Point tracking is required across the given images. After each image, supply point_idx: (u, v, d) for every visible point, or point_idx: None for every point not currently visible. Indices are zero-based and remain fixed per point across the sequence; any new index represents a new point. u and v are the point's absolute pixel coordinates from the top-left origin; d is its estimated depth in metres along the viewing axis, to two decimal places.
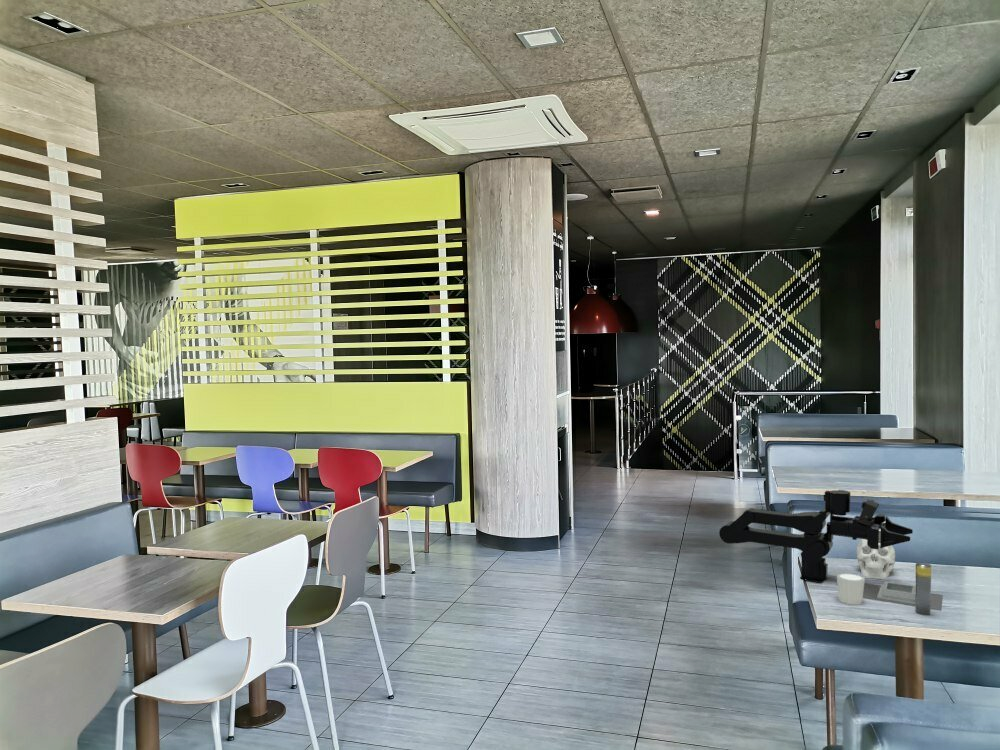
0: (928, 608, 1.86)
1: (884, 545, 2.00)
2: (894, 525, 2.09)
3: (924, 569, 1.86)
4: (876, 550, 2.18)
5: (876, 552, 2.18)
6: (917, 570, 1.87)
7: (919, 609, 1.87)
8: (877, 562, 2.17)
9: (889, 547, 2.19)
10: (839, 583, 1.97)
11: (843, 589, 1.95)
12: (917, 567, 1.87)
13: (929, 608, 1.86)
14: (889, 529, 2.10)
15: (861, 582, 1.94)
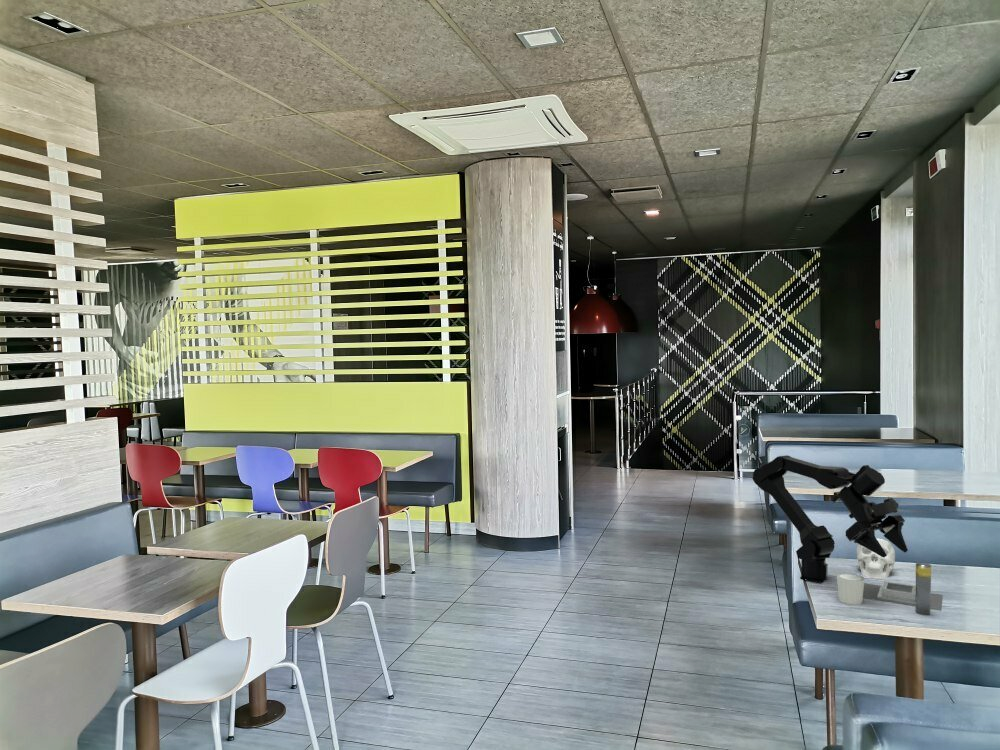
0: (928, 608, 1.86)
1: (859, 542, 1.96)
2: (898, 535, 1.99)
3: (924, 569, 1.86)
4: None
5: None
6: (917, 570, 1.87)
7: (919, 609, 1.87)
8: (877, 562, 2.17)
9: (889, 547, 2.19)
10: (839, 583, 1.97)
11: (843, 589, 1.95)
12: (917, 567, 1.87)
13: (929, 608, 1.86)
14: (891, 533, 2.00)
15: (861, 582, 1.94)
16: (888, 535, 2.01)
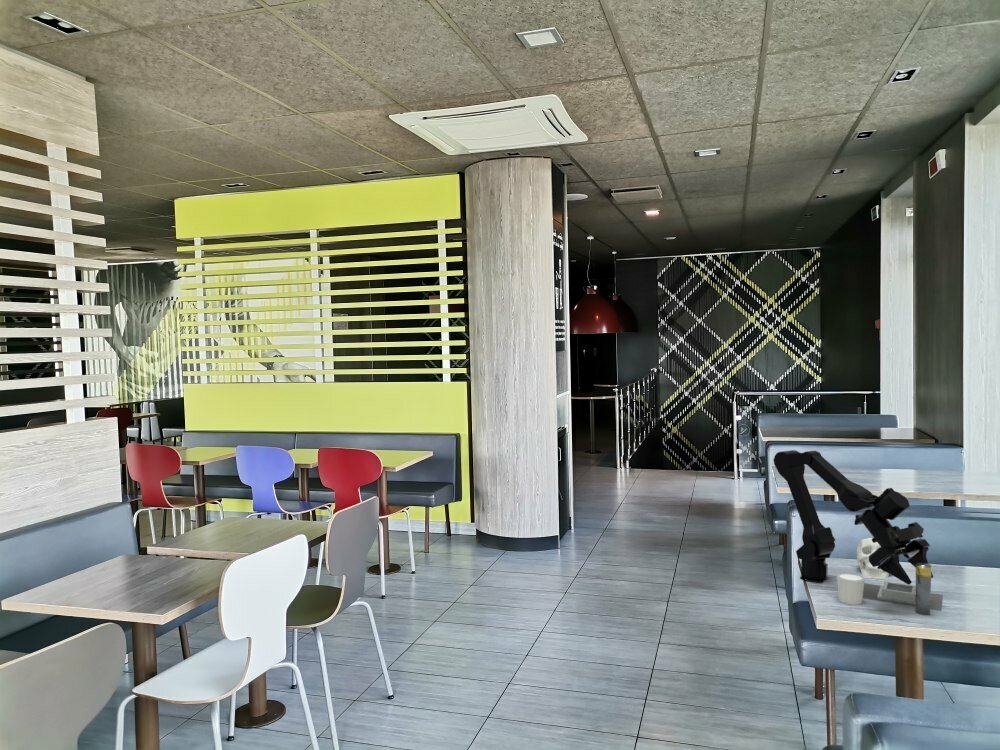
0: (928, 608, 1.86)
1: (883, 568, 1.90)
2: (923, 560, 1.92)
3: (924, 569, 1.86)
4: None
5: None
6: (917, 570, 1.87)
7: (919, 609, 1.87)
8: None
9: None
10: (839, 583, 1.97)
11: (843, 589, 1.95)
12: (917, 567, 1.87)
13: (929, 608, 1.86)
14: (916, 559, 1.94)
15: (861, 582, 1.94)
16: (912, 560, 1.95)
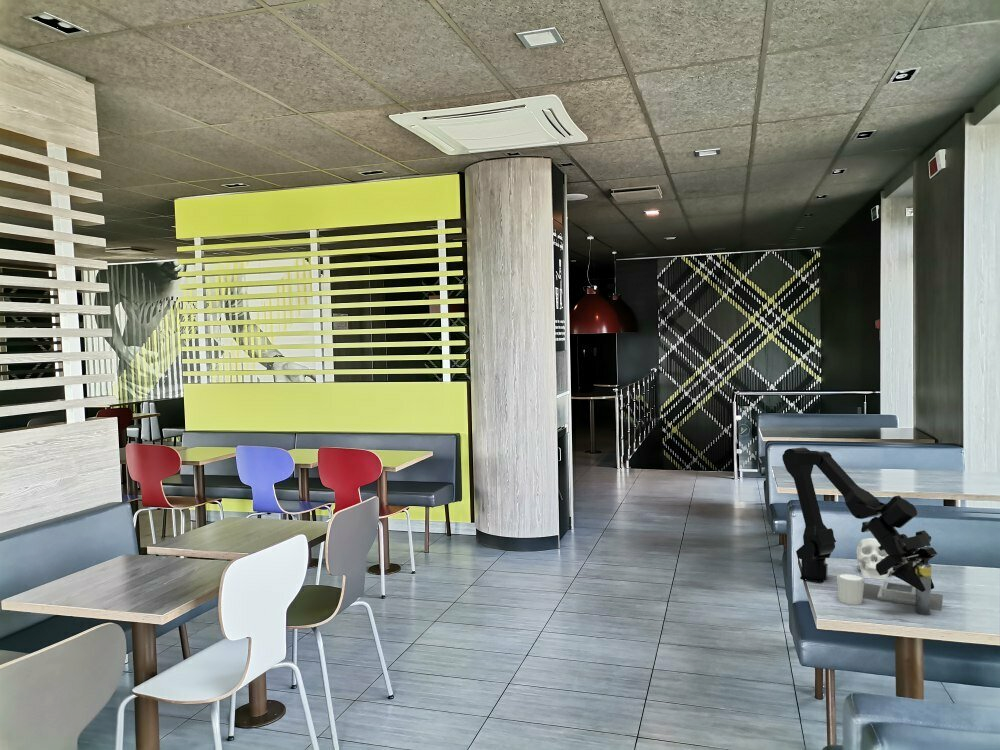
0: (928, 608, 1.86)
1: (897, 575, 1.90)
2: None
3: (924, 568, 1.86)
4: (876, 550, 2.18)
5: (876, 552, 2.18)
6: (917, 570, 1.87)
7: (919, 609, 1.87)
8: (877, 562, 2.16)
9: None
10: (839, 583, 1.97)
11: (843, 589, 1.95)
12: (917, 567, 1.87)
13: (929, 608, 1.86)
14: None
15: (861, 582, 1.94)
16: (913, 570, 1.92)
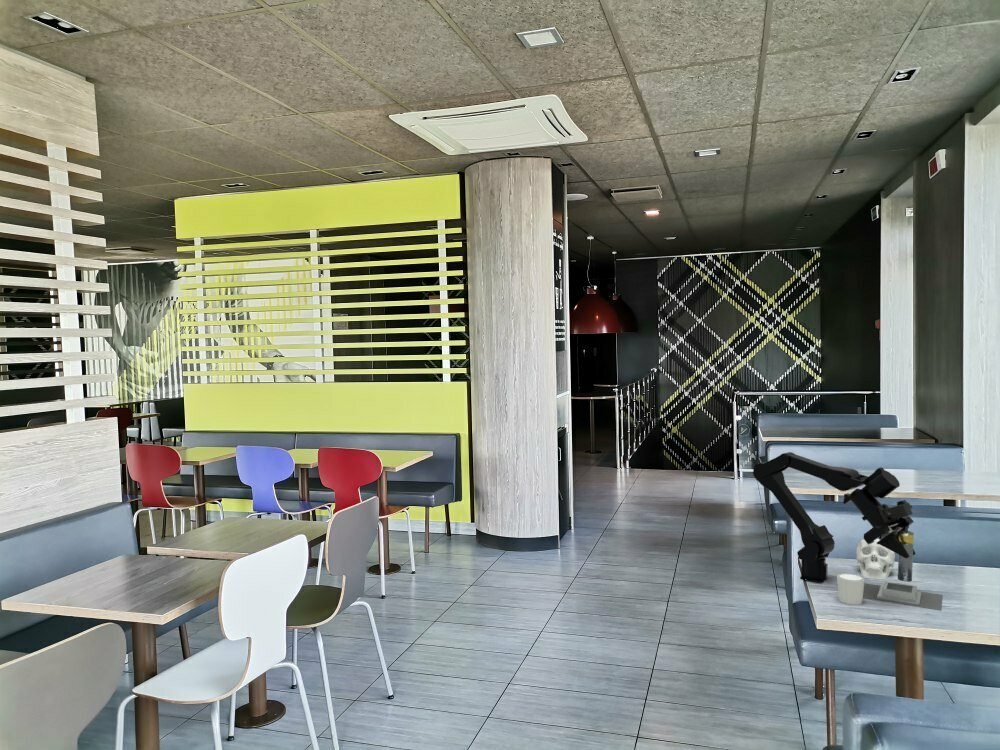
0: (910, 574, 1.95)
1: (882, 544, 1.97)
2: None
3: (908, 536, 1.94)
4: (876, 551, 2.18)
5: (876, 553, 2.17)
6: (901, 538, 1.96)
7: (903, 574, 1.96)
8: (877, 563, 2.16)
9: None
10: (839, 583, 1.97)
11: (843, 589, 1.95)
12: (901, 535, 1.96)
13: (911, 573, 1.96)
14: (898, 536, 2.00)
15: (861, 582, 1.94)
16: None
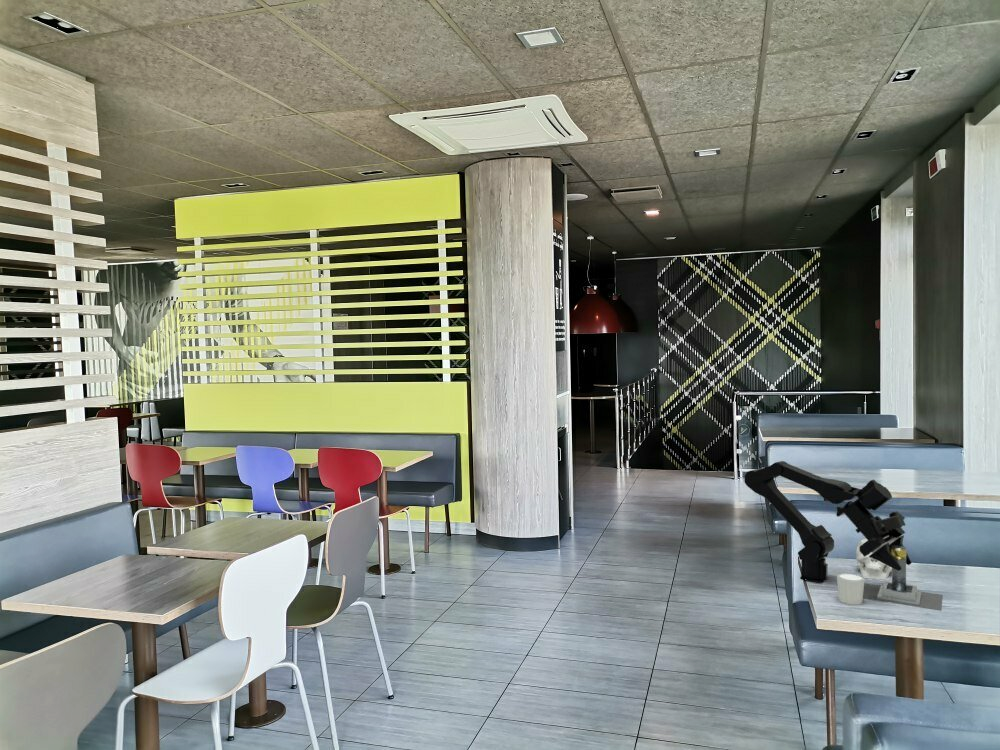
0: (904, 588, 1.98)
1: (874, 557, 1.99)
2: None
3: (901, 551, 1.98)
4: None
5: None
6: (894, 553, 1.99)
7: (897, 589, 1.98)
8: (877, 563, 2.16)
9: None
10: (839, 583, 1.97)
11: (843, 589, 1.95)
12: (894, 550, 1.99)
13: (905, 588, 1.98)
14: None
15: (861, 582, 1.94)
16: (890, 548, 2.05)
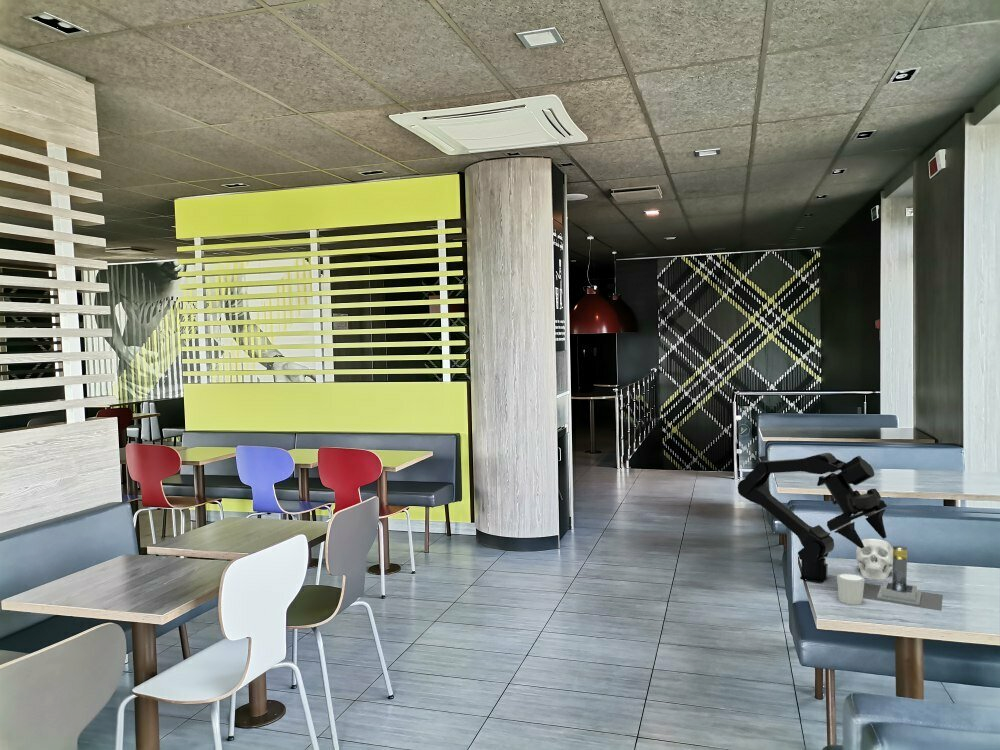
0: (905, 588, 1.98)
1: (840, 532, 2.05)
2: (878, 521, 2.07)
3: (902, 551, 1.97)
4: (876, 551, 2.18)
5: (876, 553, 2.17)
6: (895, 553, 1.98)
7: (897, 589, 1.98)
8: (877, 563, 2.16)
9: (889, 548, 2.18)
10: (839, 583, 1.97)
11: (843, 589, 1.95)
12: (895, 550, 1.98)
13: (905, 588, 1.98)
14: (873, 519, 2.08)
15: (861, 582, 1.94)
16: (869, 519, 2.09)
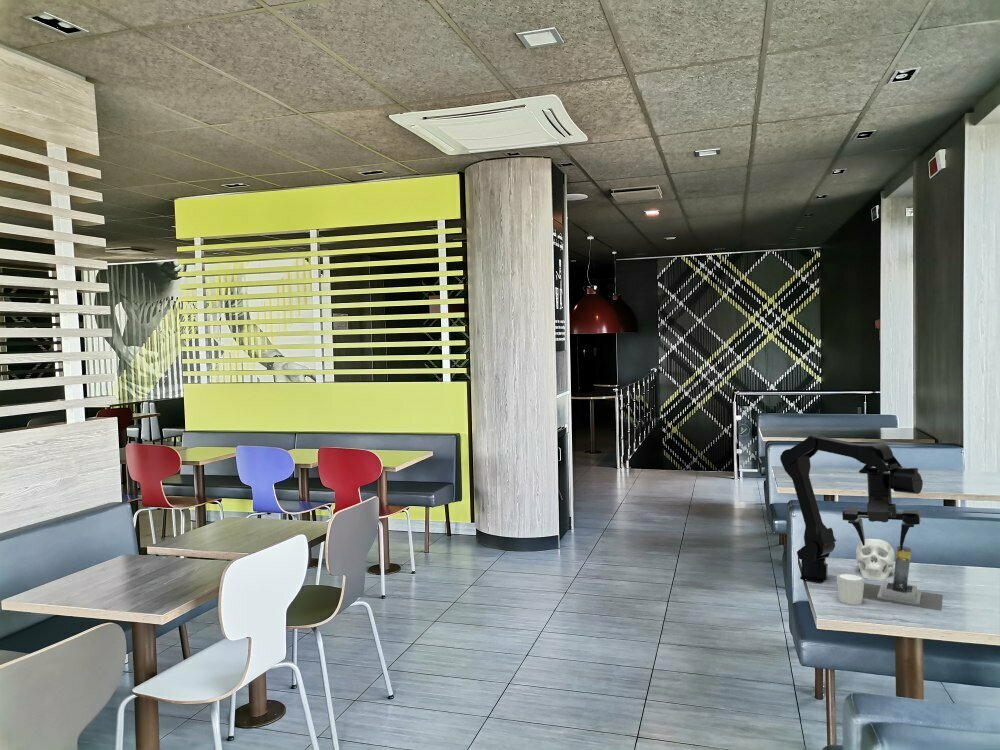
0: (905, 588, 1.98)
1: None
2: (901, 532, 1.97)
3: (906, 553, 1.96)
4: (876, 551, 2.17)
5: (876, 553, 2.17)
6: (899, 554, 1.97)
7: (898, 589, 1.98)
8: (877, 563, 2.16)
9: (889, 548, 2.18)
10: (839, 583, 1.97)
11: (843, 589, 1.95)
12: (899, 551, 1.97)
13: (906, 588, 1.98)
14: None
15: (861, 582, 1.94)
16: None
